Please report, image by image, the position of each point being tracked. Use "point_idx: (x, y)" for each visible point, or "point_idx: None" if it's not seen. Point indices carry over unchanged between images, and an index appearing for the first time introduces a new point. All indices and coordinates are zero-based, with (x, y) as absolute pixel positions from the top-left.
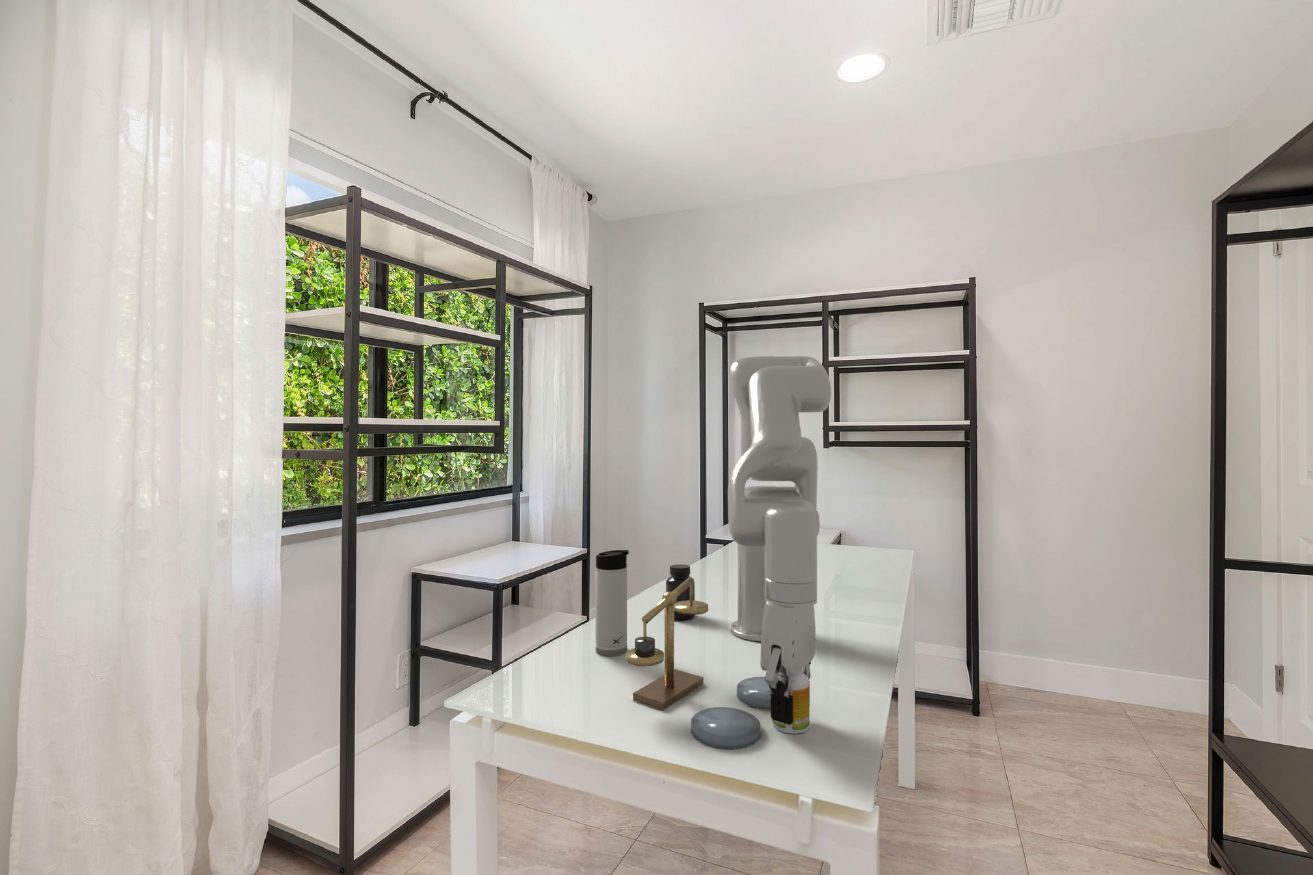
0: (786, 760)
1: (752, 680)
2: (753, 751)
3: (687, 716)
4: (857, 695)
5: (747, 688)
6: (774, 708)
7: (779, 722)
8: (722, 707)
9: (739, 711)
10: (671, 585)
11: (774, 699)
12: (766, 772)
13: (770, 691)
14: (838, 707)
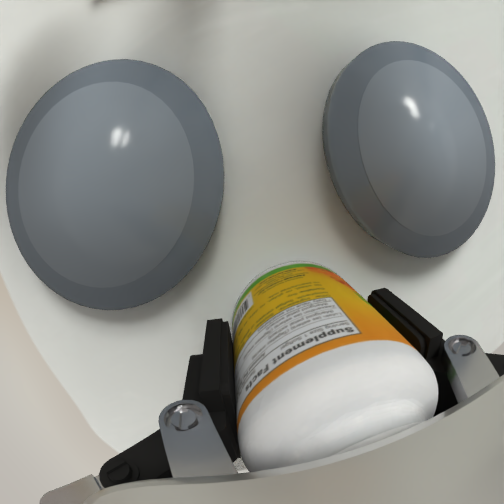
0: (127, 388)
1: (443, 77)
2: (87, 316)
3: (108, 38)
4: (496, 319)
5: (393, 81)
6: (188, 372)
7: (232, 330)
8: (182, 88)
9: (201, 159)
10: None
11: (183, 399)
12: (64, 374)
13: (164, 415)
14: (448, 331)
